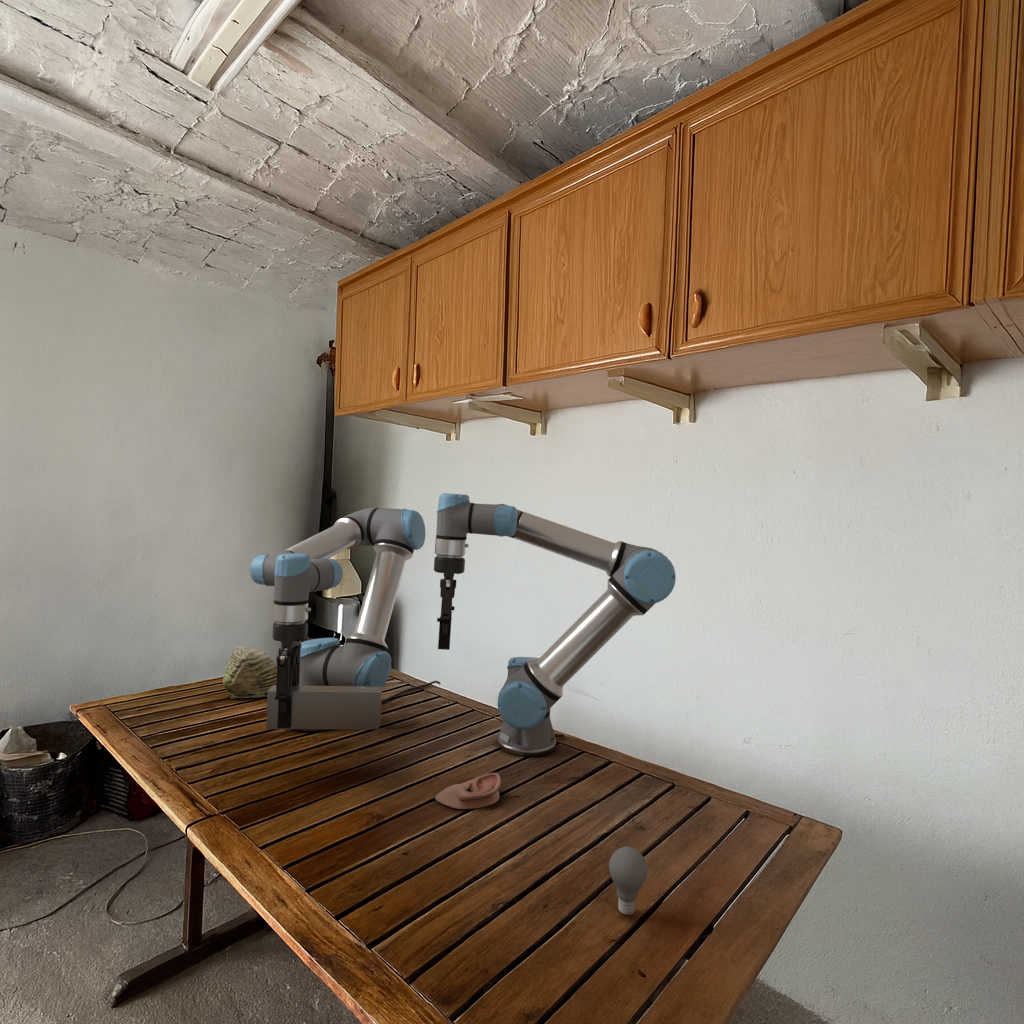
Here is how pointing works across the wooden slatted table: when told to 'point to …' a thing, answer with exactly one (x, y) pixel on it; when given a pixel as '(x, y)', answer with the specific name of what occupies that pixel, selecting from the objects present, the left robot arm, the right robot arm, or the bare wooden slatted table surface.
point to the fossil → (249, 673)
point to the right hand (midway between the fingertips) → (444, 642)
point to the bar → (329, 707)
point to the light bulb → (627, 876)
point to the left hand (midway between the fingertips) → (286, 723)
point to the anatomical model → (472, 793)
